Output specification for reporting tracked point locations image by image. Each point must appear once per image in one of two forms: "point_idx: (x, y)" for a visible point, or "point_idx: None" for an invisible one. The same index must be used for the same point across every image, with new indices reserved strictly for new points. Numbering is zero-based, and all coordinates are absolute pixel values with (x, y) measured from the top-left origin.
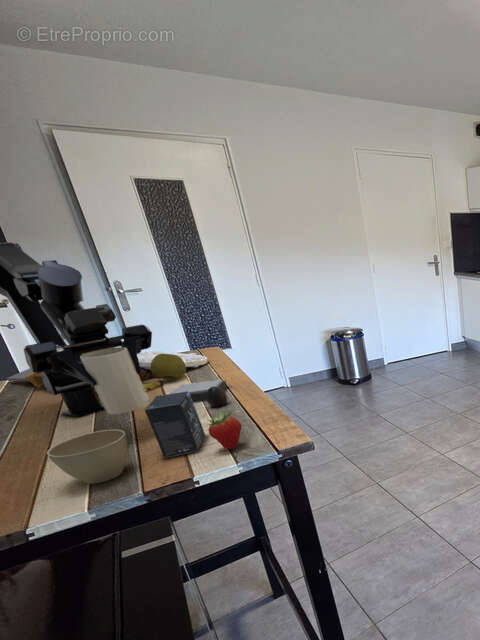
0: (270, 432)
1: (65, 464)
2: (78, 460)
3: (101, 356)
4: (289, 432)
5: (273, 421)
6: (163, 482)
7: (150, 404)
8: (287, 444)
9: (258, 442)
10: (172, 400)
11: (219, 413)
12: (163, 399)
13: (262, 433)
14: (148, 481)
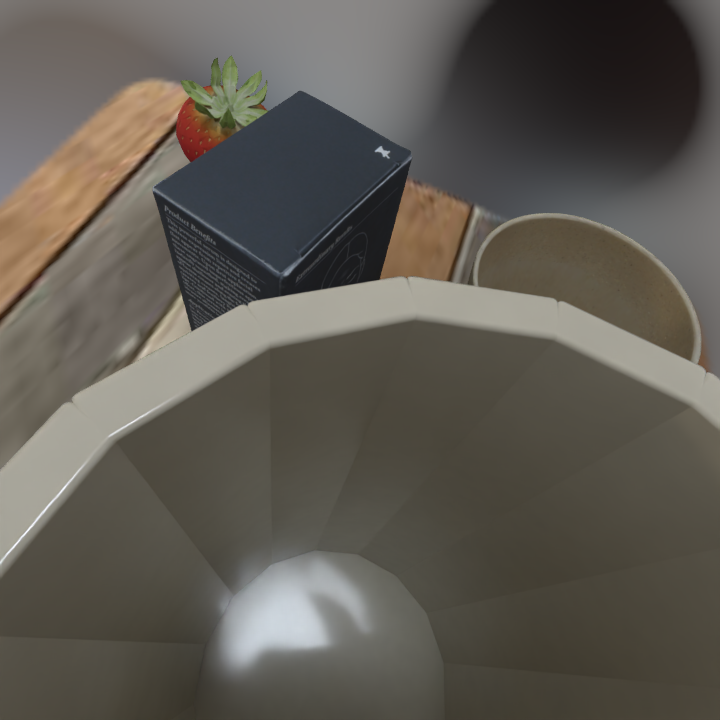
0: (105, 177)
1: (635, 285)
2: (607, 253)
3: (617, 333)
4: (92, 132)
5: (10, 230)
6: (430, 203)
7: (369, 182)
8: (165, 95)
9: (178, 162)
10: (291, 136)
11: (203, 109)
12: (302, 180)
13: (119, 193)
14: (449, 238)
